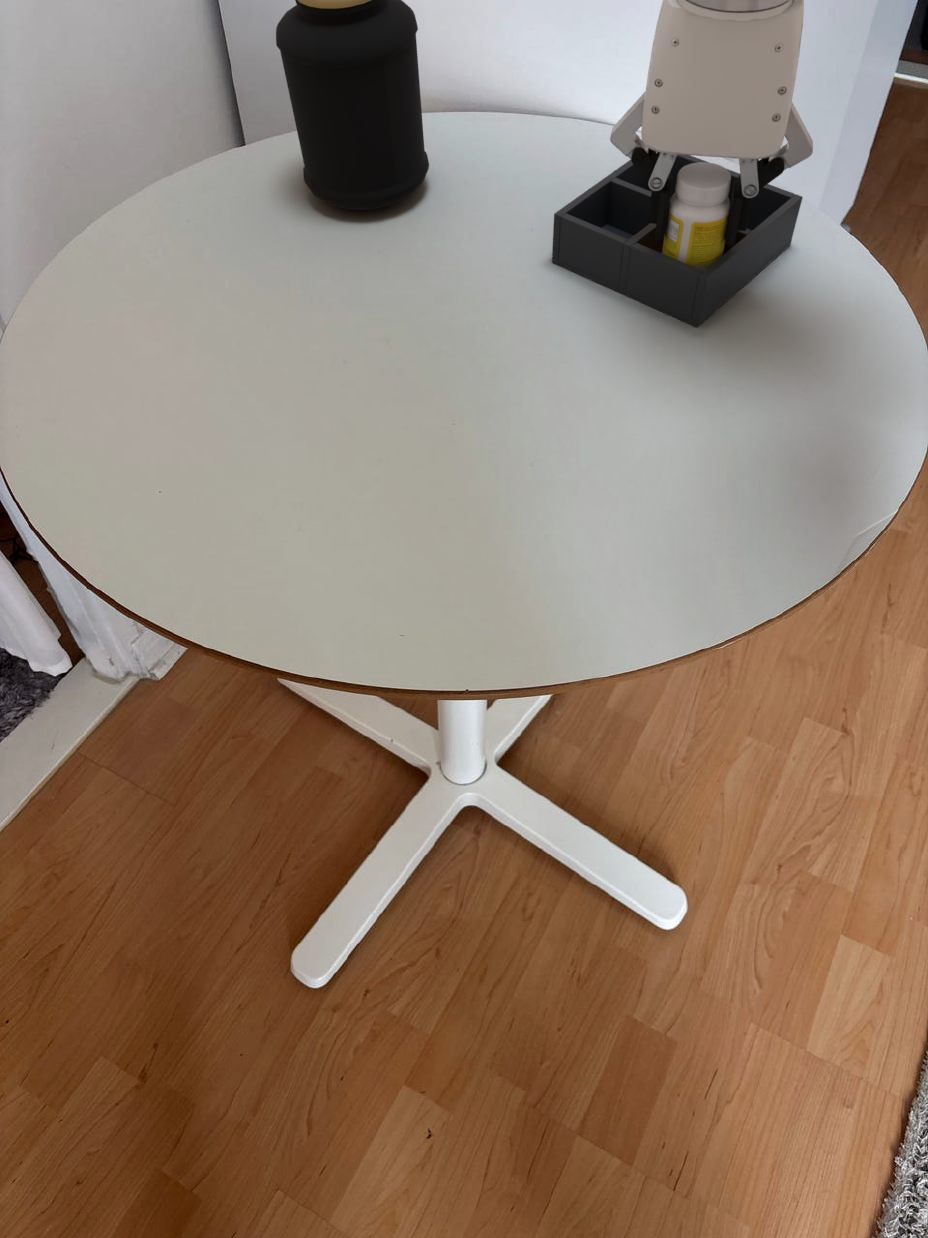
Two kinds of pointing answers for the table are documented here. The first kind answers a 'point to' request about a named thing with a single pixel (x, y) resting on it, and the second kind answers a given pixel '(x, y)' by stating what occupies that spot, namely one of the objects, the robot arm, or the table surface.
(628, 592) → the table surface
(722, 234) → the supplement bottle
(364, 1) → the container
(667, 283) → the box
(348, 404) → the table surface
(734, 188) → the robot arm
